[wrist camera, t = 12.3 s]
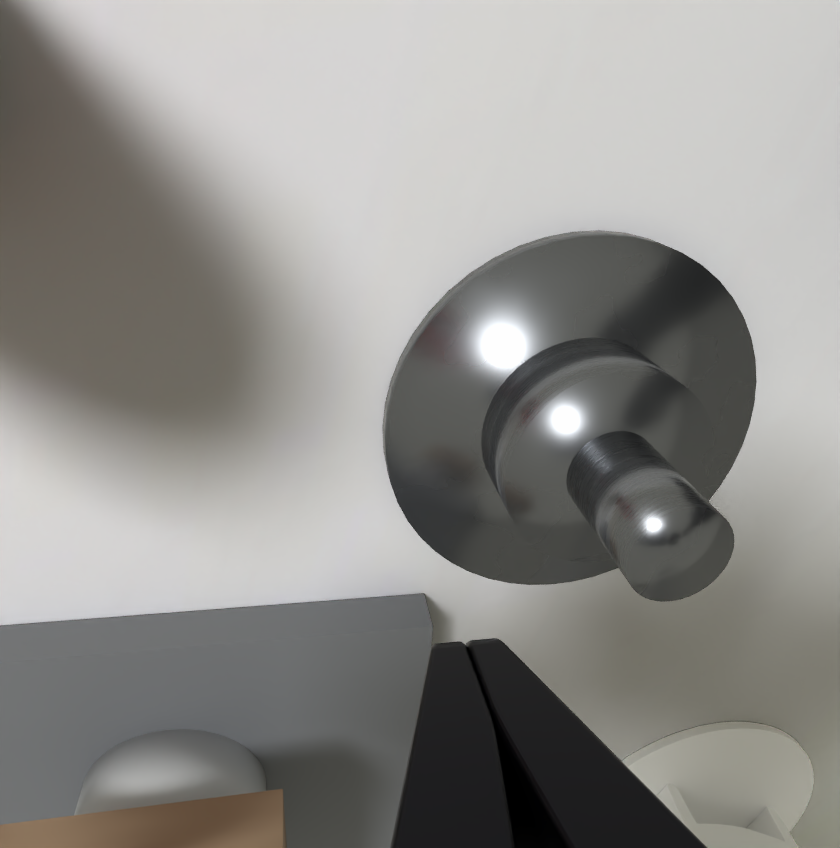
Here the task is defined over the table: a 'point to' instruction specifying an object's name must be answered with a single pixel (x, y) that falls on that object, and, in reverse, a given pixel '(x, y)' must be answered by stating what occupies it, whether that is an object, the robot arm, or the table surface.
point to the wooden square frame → (163, 826)
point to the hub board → (218, 712)
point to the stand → (575, 416)
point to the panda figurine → (730, 782)
